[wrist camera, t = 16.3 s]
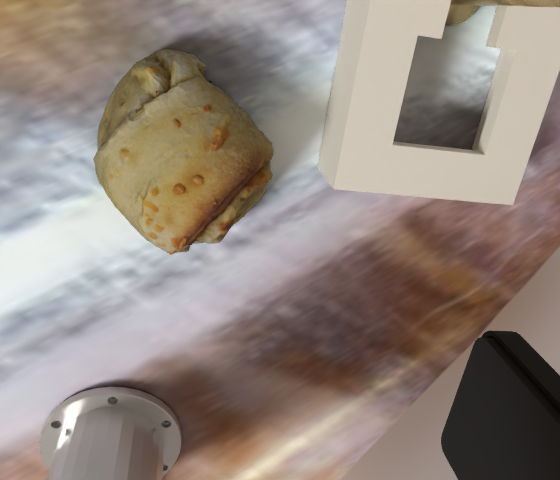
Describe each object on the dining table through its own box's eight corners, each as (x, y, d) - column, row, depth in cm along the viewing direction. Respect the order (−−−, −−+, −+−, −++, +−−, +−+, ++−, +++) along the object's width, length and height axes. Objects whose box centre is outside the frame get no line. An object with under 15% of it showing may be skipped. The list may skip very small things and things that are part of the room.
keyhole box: (478, 183, 43) (512, 205, 38) (317, 167, 40) (333, 189, 36) (565, -96, 35) (622, -110, 30) (371, -139, 32) (401, -162, 28)
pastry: (251, 244, 43) (263, 294, 35) (93, 226, 40) (72, 275, 33) (286, 69, 37) (309, 86, 30) (106, 34, 34) (83, 43, 27)
